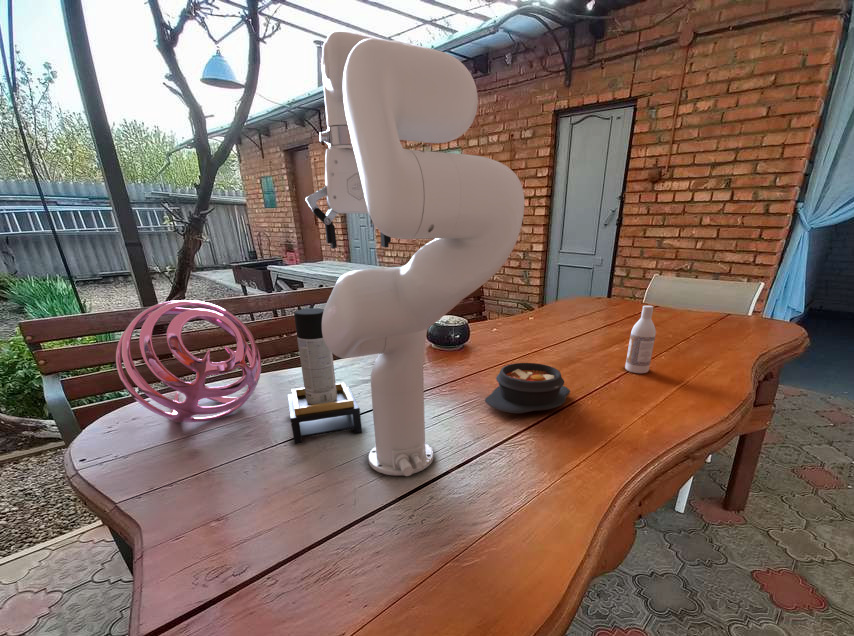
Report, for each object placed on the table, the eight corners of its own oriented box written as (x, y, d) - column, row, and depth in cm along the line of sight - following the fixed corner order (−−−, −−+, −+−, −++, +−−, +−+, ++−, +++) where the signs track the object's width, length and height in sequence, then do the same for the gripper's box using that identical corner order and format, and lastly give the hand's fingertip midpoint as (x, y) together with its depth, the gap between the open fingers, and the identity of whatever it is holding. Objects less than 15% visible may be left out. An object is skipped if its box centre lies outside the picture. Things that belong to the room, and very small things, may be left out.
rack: (362, 432, 93) (359, 401, 90) (294, 444, 88) (289, 411, 85) (350, 408, 105) (348, 380, 102) (291, 417, 100) (286, 388, 97)
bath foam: (624, 365, 137) (635, 303, 129) (647, 368, 135) (660, 304, 127) (624, 372, 131) (635, 307, 123) (648, 375, 129) (661, 309, 121)
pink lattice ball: (101, 327, 99) (119, 265, 81) (229, 335, 119) (267, 287, 101) (115, 443, 94) (137, 404, 76) (247, 430, 114) (289, 397, 96)
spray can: (342, 395, 97) (332, 307, 89) (331, 407, 91) (319, 314, 83) (314, 394, 98) (301, 307, 90) (301, 406, 92) (287, 313, 84)
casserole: (524, 428, 95) (527, 394, 92) (468, 404, 108) (468, 372, 105) (586, 400, 111) (590, 369, 107) (530, 381, 123) (532, 353, 120)
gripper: (300, 134, 67) (314, 249, 74) (405, 142, 73) (409, 247, 80) (297, 142, 73) (310, 247, 80) (394, 148, 79) (398, 245, 86)
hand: (359, 247), depth 80 cm, fingers open, 9 cm apart
